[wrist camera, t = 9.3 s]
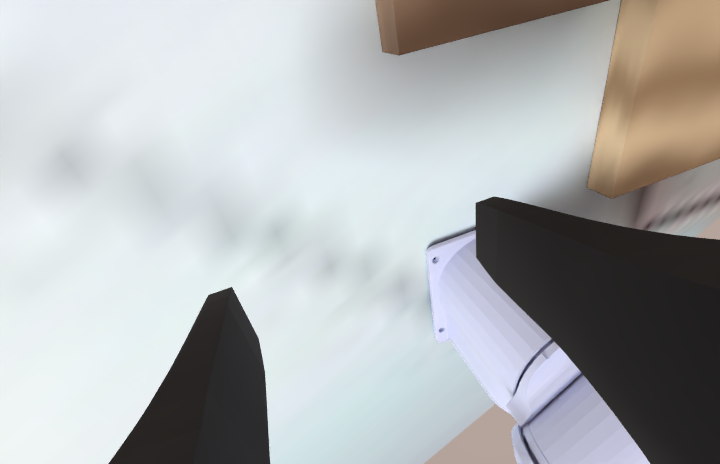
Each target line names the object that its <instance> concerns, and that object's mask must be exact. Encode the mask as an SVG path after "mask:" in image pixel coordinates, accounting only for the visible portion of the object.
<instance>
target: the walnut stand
mask: <svg viewBox="0 0 720 464" xmlns="http://www.w3.org/2000/svg"><path fill="white" fill-rule="evenodd" d="M605 1H608V0H376V8H377V15H378V22H379V30H380V37H381V44H382V52H385V53H390V54H395V55H402V54H406V53H410V52H414V51H418V50H421V49H425V48H429V47H433V46H437V45H440V44H444V43H448V42H452V41H456V40H460V39H463V38H467V37H471V36H475V35H479V34H482V33H486V32H490V31H494V30H498V29H502V28H505V27H509V26H513V25H517V24H521V23H524V22H528V21H532V20H536V19H540V18H544V17H547V16H551V15H555V14H559V13H563V12H566V11H570V10H574V9H578V8H582V7H586V6H589V5H593V4H597V3H601V2H605Z"/></svg>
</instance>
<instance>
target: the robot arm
mask: <svg viewBox="0 0 720 464" xmlns="http://www.w3.org/2000/svg"><path fill="white" fill-rule="evenodd" d="M435 257H436V258H435ZM433 258H435V259H434V260H433ZM426 260H427V269H428V278H429V288H430V297H431V307H432V316H433V326H434V335H435V339H436V341H437V342H438V343H442V342H445V341H447V340H450V341H451V342H452V344H453V345H454V347H455V348H456V350H457V351H458V352H459V354H460V355H461V357H462V358H463V360H464V361H465V362H466V364H467V365H468V367H469V368H470V370H471V371H472V372H473V374H474V375H475V377H476V378H477V380H478V381H479V382H480V384H481V385H482V387H483V388H484V390H485V391H486V392H487V394H488V395H489V397H490V398H491V399H492V400H493V401H494V402H495V403H496V404H497V405H498V406H499V407H500V408H502V409H503V410H504V411H506V412H508V413H510V414H512V416H513V417H514V419H515V420H516V421H517V424H516V425H515V426H514V427H513V429H512V432H511V436H512V443H513V447H514V454H515V458H516V461H517V463H518V464H720V240H716V239H706V238H695V237H687V236H679V235H671V234H665V233H658V232H651V231H645V230H638V229H633V228H627V227H622V226H617V225H612V224H608V223H603V222H598V221H593V220H589V219H585V218H580V217H576V216H572V215H568V214H564V213H560V212H556V211H552V210H549V209H545V208H541V207H537V206H533V205H529V204H525V203H521V202H517V201H513V200H509V199H504V198H499V197H492V198H489V199H486V200H483V201H480V202H477V203H476V230H474V231H471V232H469V233H466V234H463V235H460V236H458V237H455V238H452V239H449V240H447V241H444V242H441V243H438V244H435V245H433V246H431V247H429V248H428V249H427V251H426ZM109 464H270V456H269V437H268V419H267V400H266V383H265V371H264V365H263V359H262V354H261V349H260V344H259V339H258V337H257V335H256V333H255V331H254V329H253V327H252V325H251V323H250V321H249V319H248V317H247V315H246V313H245V311H244V310H243V308H242V306H241V304H240V302H239V300H238V298H237V296H236V294H235V292H234V290H233V288H232V287H231V288H228V289H225V290H222V291H219V292H216V293H213V294H210V295H208V297H207V299H206V301H205V303H204V305H203V307H202V308H201V311H200V313H199V315H198V317H197V319H196V321H195V323H194V325H193V327H192V329H191V331H190V333H189V335H188V337H187V338H186V340H185V342H184V344H183V346H182V348H181V350H180V352H179V354H178V355H177V357H176V359H175V361H174V363H173V365H172V367H171V368H170V370H169V372H168V374H167V375H166V377H165V379H164V381H163V382H162V384H161V386H160V387H159V389H158V391H157V392H156V394H155V396H154V397H153V399H152V401H151V402H150V404H149V406H148V407H147V409H146V410H145V412H144V414H143V415H142V417H141V418H140V420H139V421H138V423H137V424H136V426H135V427H134V429H133V430H132V431H131V433H130V434H129V436H128V437H127V439H126V440H125V441H124V443H123V444H122V446H121V447H120V449H119V450H118V451H117V453H116V454H115V456H114V457H113V458H112V460H111V461H110V462H109Z"/></svg>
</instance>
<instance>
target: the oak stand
mask: <svg viewBox="0 0 720 464" xmlns="http://www.w3.org/2000/svg"><path fill="white" fill-rule="evenodd" d="M717 159H720V0H622V2H621V7H620V12H619V18H618V23H617V28H616V34H615V39H614V45H613V50H612V55H611V61H610V66H609V71H608V77H607V82H606V87H605V93H604V98H603V103H602V109H601V114H600V120H599V125H598V130H597V136H596V141H595V146H594V152H593V157H592V162H591V168H590V173H589V179H588V184H587V188H589V189H591V190H594V191H596V192H598V193H600V194H602V195H604V196H607V197H609V198H611V199H612V198H615V197H617V196H620V195H623V194H625V193H628V192H631V191H633V190H636V189H639V188H642V187H644V186H647V185H650V184H652V183H655V182H658V181H660V180H663V179H666V178H668V177H671V176H674V175H677V174H679V173H682V172H685V171H687V170H690V169H693V168H695V167H698V166H701V165H704V164H706V163H709V162H712V161H714V160H717Z"/></svg>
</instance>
